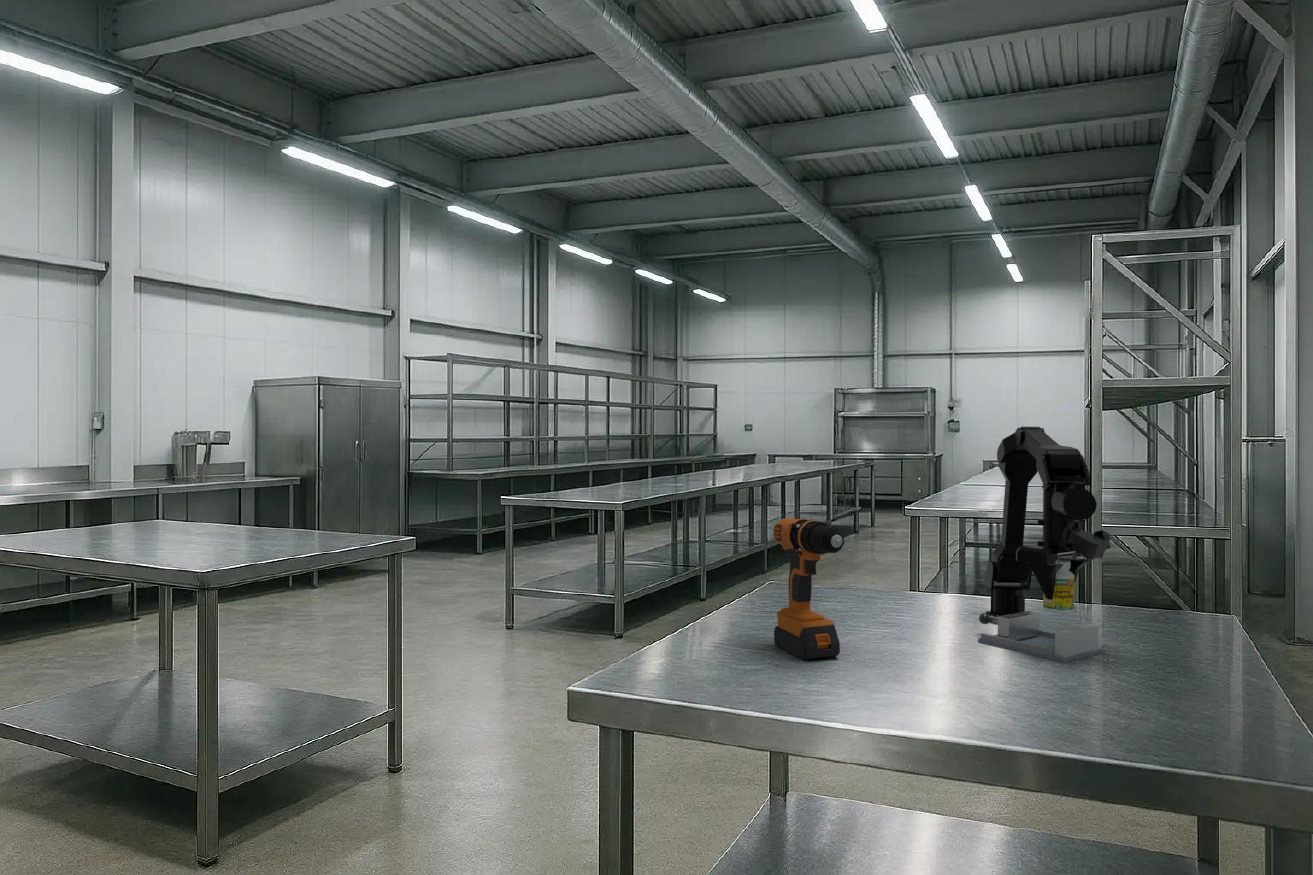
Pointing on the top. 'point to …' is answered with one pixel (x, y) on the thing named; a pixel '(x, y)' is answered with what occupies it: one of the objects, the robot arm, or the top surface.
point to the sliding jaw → (1014, 624)
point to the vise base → (1054, 643)
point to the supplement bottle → (1061, 591)
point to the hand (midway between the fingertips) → (1058, 597)
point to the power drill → (805, 589)
